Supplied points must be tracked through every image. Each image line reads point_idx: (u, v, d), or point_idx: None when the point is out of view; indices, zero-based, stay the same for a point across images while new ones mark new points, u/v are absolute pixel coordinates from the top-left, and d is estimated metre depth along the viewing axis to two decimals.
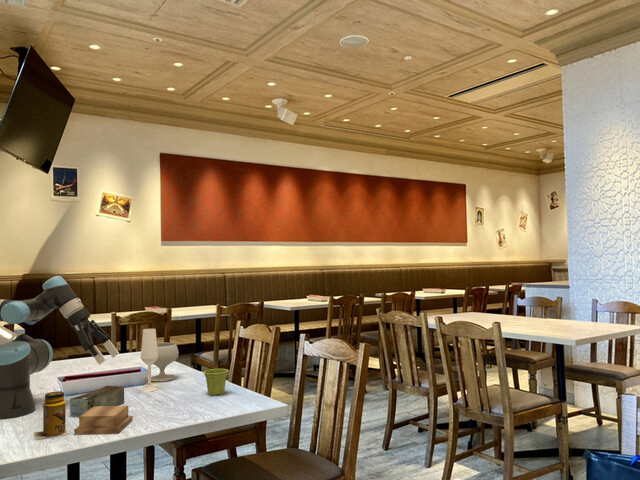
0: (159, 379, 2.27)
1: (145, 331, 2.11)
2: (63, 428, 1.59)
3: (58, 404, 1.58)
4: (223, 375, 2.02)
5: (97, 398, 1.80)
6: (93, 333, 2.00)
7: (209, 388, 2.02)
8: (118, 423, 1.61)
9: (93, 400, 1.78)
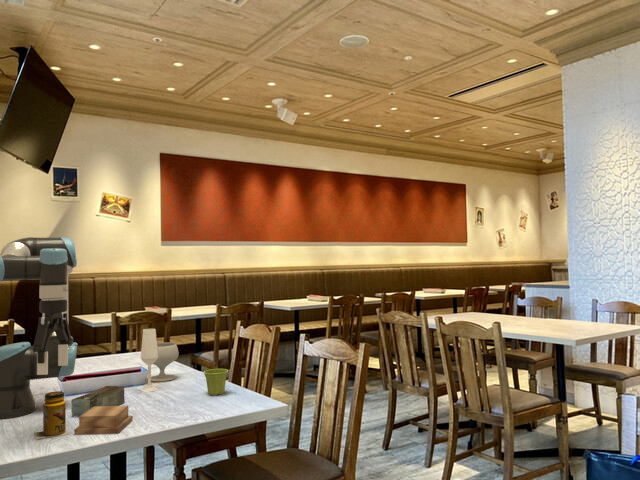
0: (159, 379, 2.27)
1: (145, 331, 2.11)
2: (63, 428, 1.59)
3: (58, 404, 1.58)
4: (223, 375, 2.02)
5: (99, 398, 1.80)
6: (56, 329, 1.64)
7: (209, 388, 2.02)
8: (118, 423, 1.61)
9: (95, 400, 1.78)
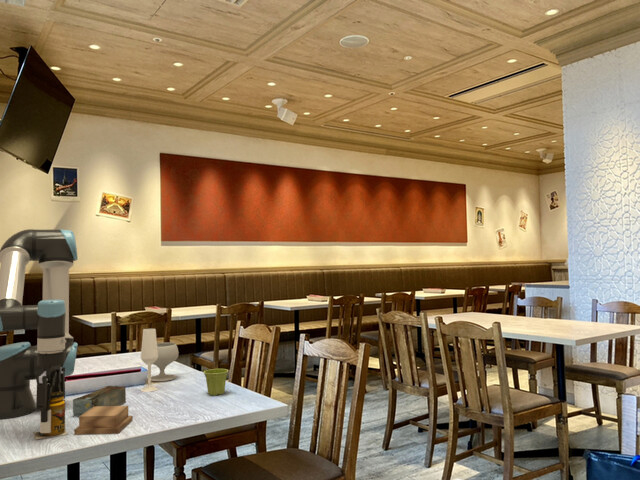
0: (159, 379, 2.27)
1: (145, 331, 2.11)
2: (62, 428, 1.59)
3: (58, 404, 1.58)
4: (223, 375, 2.02)
5: (100, 398, 1.80)
6: None
7: (209, 388, 2.02)
8: (118, 423, 1.61)
9: (96, 400, 1.78)
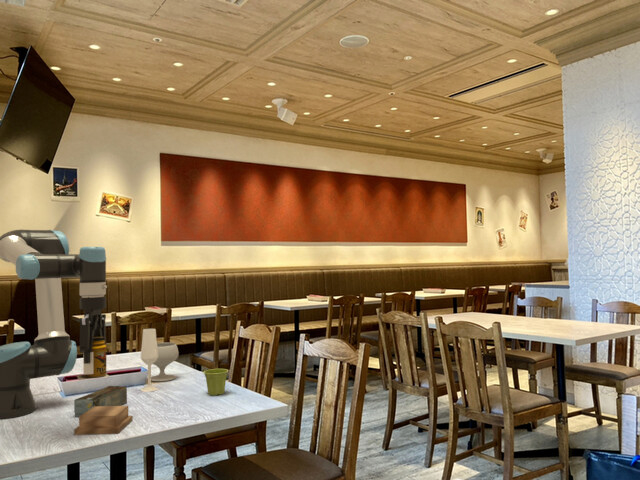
0: (159, 379, 2.27)
1: (145, 331, 2.11)
2: (104, 371, 1.63)
3: (99, 347, 1.62)
4: (223, 375, 2.02)
5: (102, 398, 1.79)
6: None
7: (209, 388, 2.02)
8: (118, 423, 1.61)
9: (98, 400, 1.78)
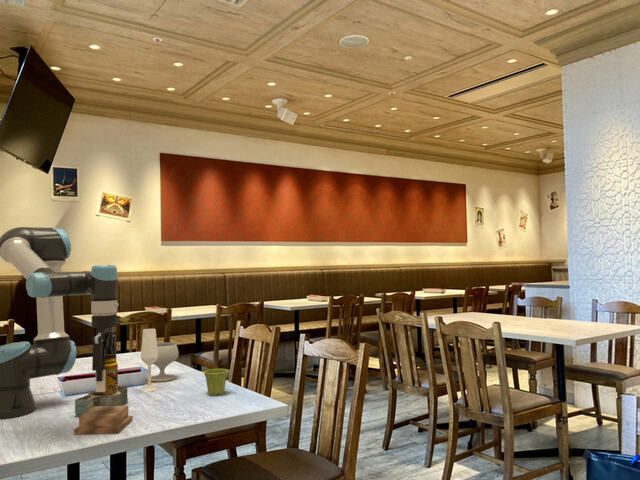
0: (159, 379, 2.27)
1: (145, 331, 2.11)
2: (116, 388, 1.64)
3: (111, 364, 1.63)
4: (223, 375, 2.02)
5: (102, 398, 1.79)
6: None
7: (209, 388, 2.02)
8: (118, 423, 1.61)
9: (99, 400, 1.77)
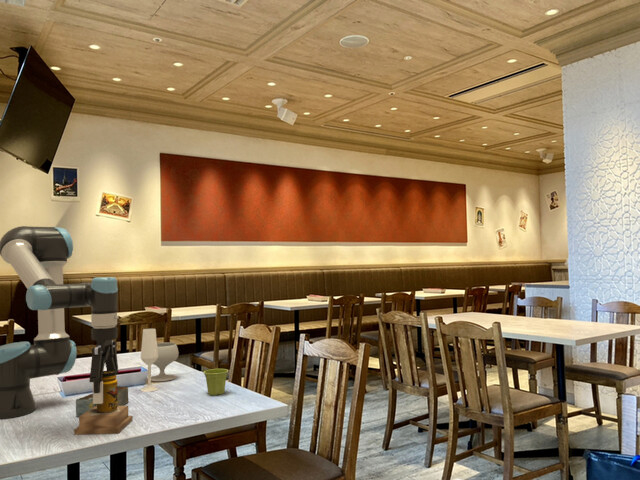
0: (159, 379, 2.27)
1: (145, 331, 2.11)
2: (116, 406, 1.64)
3: (111, 382, 1.63)
4: (223, 375, 2.02)
5: None
6: None
7: (209, 388, 2.02)
8: (118, 423, 1.61)
9: None
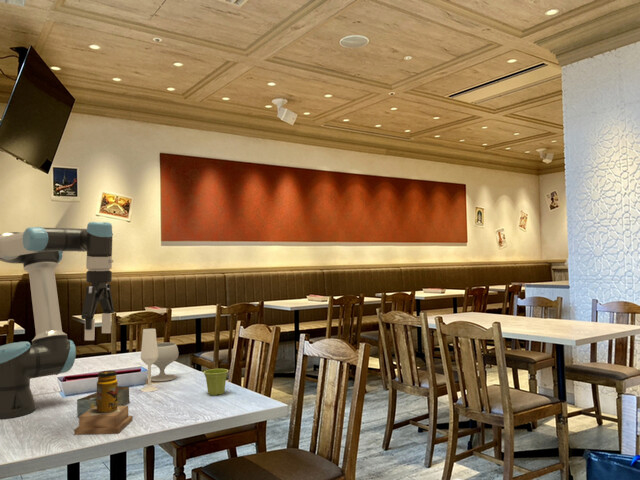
0: (159, 379, 2.27)
1: (145, 331, 2.11)
2: (116, 406, 1.64)
3: (111, 382, 1.63)
4: (223, 375, 2.02)
5: None
6: (101, 299, 1.73)
7: (209, 388, 2.02)
8: (118, 423, 1.61)
9: None
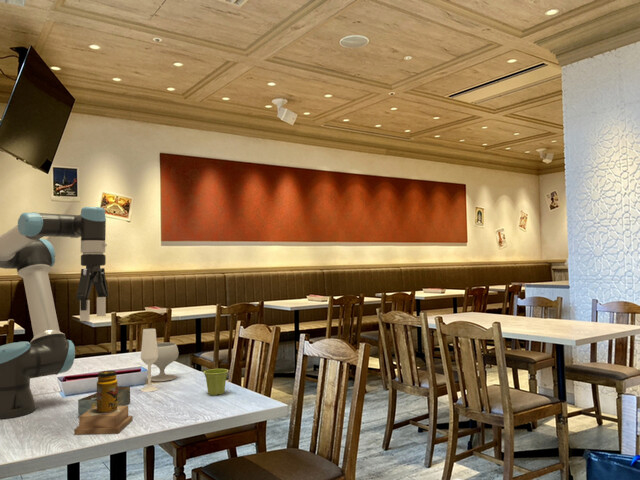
0: (159, 379, 2.27)
1: (145, 331, 2.11)
2: (116, 406, 1.64)
3: (111, 382, 1.63)
4: (223, 375, 2.02)
5: None
6: (95, 282, 1.78)
7: (209, 388, 2.02)
8: (118, 423, 1.61)
9: None
